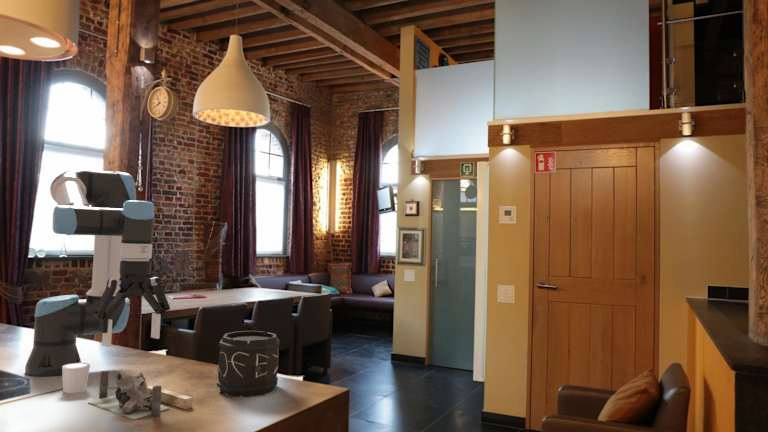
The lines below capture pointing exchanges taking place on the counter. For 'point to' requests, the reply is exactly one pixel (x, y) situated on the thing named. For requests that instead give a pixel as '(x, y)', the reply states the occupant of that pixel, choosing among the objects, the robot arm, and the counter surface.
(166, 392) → the grey tray with pegs
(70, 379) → the shot glass
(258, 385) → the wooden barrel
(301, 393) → the counter surface
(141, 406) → the decorative stone
